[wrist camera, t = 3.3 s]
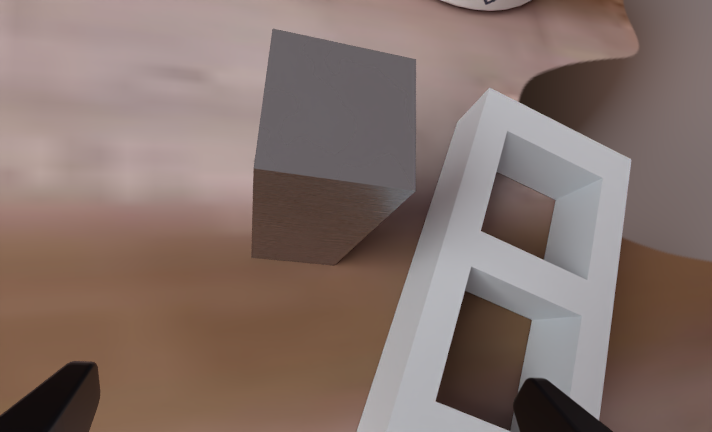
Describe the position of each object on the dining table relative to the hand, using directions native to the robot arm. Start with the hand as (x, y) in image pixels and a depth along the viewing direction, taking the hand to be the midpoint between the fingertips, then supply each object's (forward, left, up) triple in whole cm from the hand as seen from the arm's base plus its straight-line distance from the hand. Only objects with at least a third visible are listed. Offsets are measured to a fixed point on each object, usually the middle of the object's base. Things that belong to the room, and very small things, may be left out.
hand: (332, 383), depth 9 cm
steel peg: (+5, -5, -13) cm, 15 cm away
